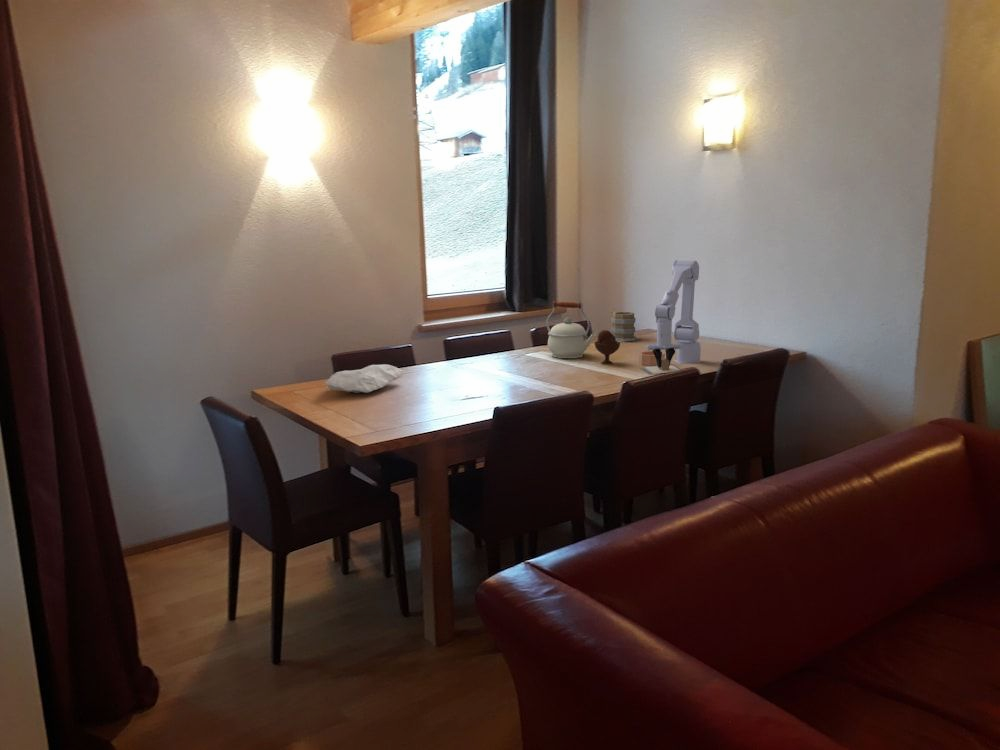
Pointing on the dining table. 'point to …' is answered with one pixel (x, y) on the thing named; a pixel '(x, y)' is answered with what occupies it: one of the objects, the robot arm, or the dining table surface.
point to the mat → (649, 371)
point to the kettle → (568, 335)
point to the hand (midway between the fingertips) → (663, 366)
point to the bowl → (648, 358)
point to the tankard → (623, 326)
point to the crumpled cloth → (364, 378)
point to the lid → (662, 367)
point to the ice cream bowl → (606, 345)
